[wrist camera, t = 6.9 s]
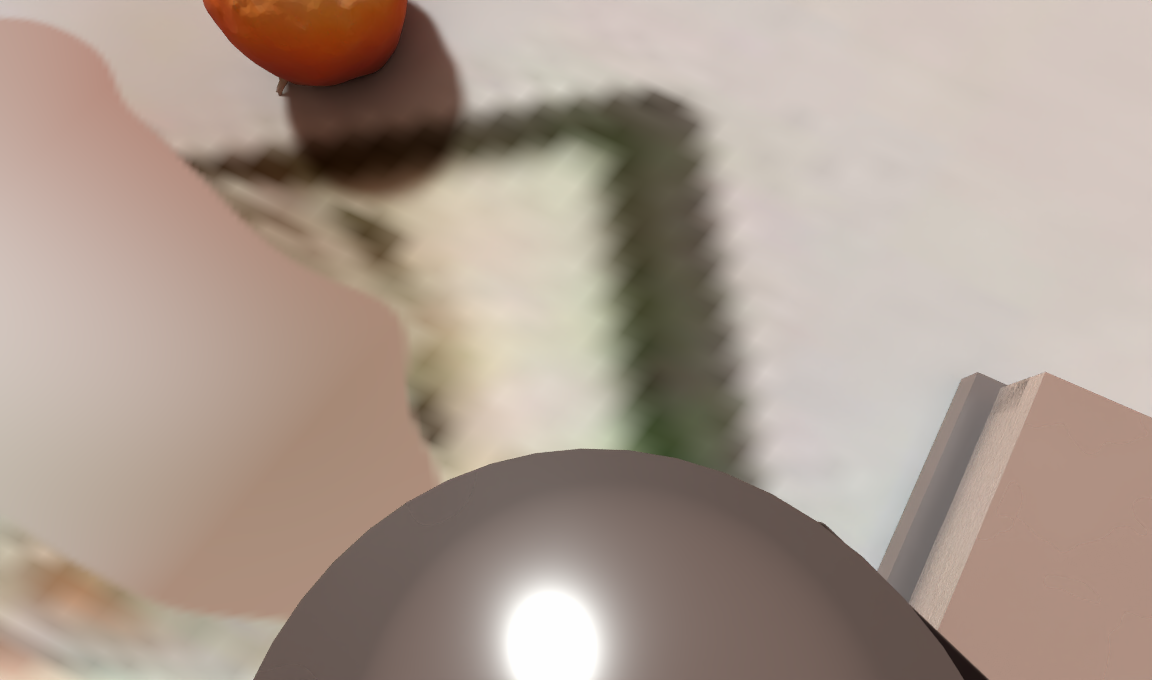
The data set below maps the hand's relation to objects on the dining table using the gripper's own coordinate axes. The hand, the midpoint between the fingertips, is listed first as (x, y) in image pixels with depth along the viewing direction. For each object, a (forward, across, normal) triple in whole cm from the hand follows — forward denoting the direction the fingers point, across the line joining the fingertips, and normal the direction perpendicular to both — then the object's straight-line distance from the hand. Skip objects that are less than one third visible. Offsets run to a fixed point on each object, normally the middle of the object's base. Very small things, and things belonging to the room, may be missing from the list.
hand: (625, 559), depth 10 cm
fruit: (+25, +11, -6) cm, 28 cm away
